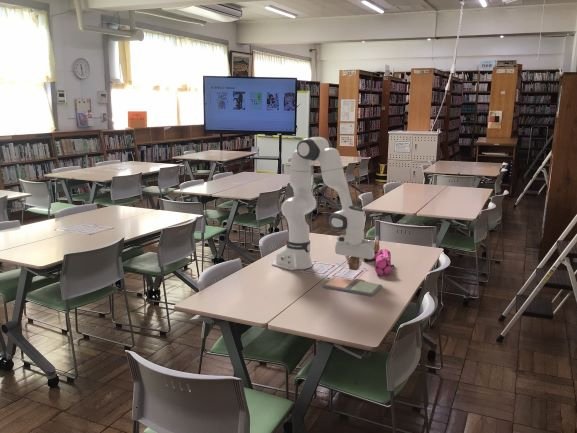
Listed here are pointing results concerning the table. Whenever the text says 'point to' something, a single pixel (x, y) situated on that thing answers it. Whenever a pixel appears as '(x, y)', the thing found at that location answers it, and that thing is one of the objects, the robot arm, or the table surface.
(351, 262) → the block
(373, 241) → the ammunition clip
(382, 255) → the pencil case
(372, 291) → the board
